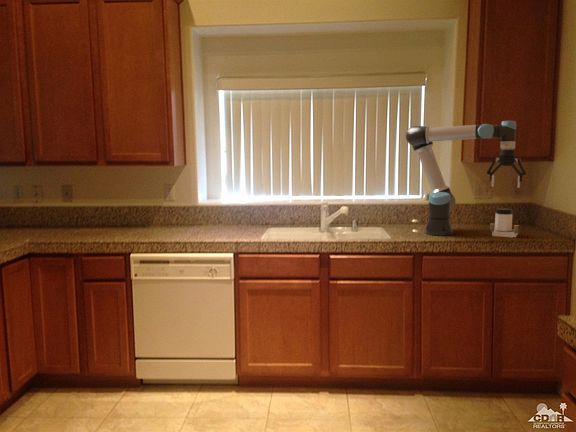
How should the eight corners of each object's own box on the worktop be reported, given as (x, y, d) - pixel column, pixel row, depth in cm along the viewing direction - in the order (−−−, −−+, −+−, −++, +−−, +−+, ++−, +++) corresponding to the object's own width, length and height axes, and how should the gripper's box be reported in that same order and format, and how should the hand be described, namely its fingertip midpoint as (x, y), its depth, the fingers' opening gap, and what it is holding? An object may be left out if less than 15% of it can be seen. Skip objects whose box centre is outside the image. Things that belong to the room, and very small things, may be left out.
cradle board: (489, 235, 282) (489, 224, 281) (493, 231, 295) (494, 220, 294) (517, 237, 275) (518, 226, 274) (521, 233, 288) (521, 222, 287)
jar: (493, 230, 283) (494, 209, 281) (496, 228, 290) (497, 207, 288) (510, 231, 278) (511, 210, 276) (513, 229, 285) (514, 208, 283)
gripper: (482, 149, 284) (480, 186, 287) (531, 149, 270) (528, 188, 273) (485, 148, 290) (483, 185, 293) (533, 149, 277) (530, 187, 280)
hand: (505, 187), depth 283 cm, fingers open, 13 cm apart
